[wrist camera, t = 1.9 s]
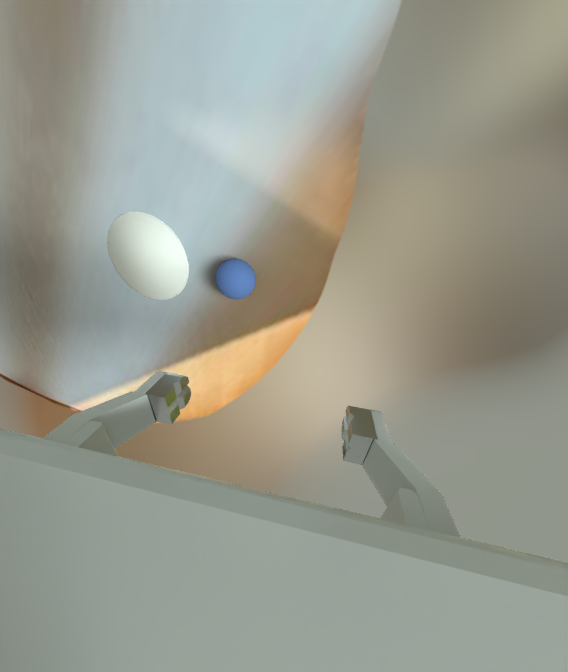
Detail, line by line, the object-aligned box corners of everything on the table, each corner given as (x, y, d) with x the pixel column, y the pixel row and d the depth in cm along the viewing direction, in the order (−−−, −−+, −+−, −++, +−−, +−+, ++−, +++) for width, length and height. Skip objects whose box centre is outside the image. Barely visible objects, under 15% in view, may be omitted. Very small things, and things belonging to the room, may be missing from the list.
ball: (224, 289, 35) (209, 301, 30) (224, 253, 32) (207, 259, 27) (258, 295, 34) (248, 307, 29) (261, 259, 31) (250, 266, 27)
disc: (120, 292, 37) (119, 292, 37) (98, 205, 31) (96, 205, 31) (192, 305, 37) (191, 305, 37) (184, 218, 30) (183, 218, 30)
